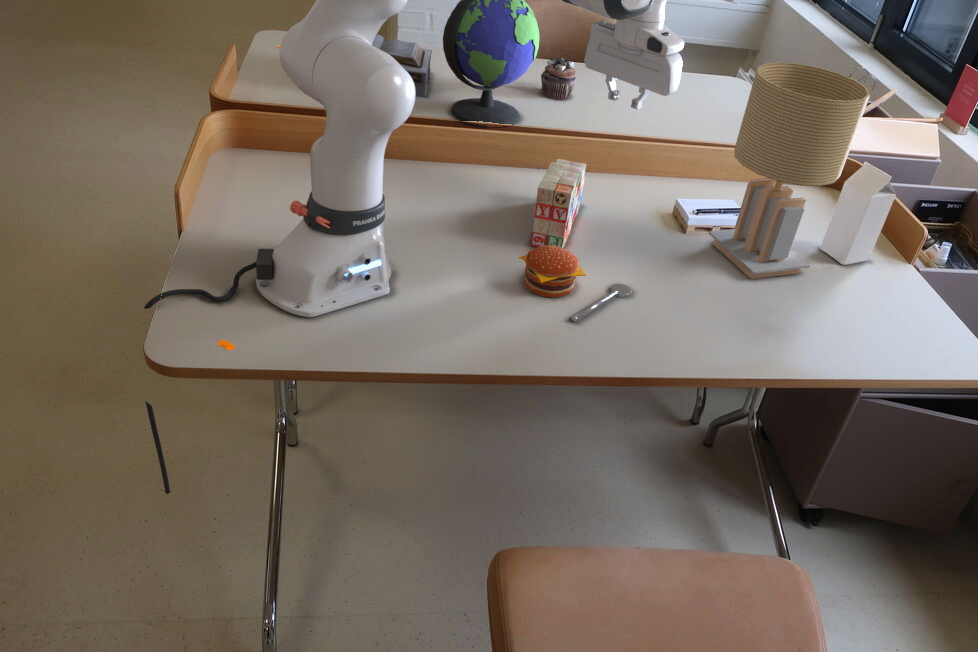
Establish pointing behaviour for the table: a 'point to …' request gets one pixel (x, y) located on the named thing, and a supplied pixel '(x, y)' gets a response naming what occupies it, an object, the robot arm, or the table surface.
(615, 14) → the robot arm
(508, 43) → the globe
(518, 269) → the table surface
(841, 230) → the milk carton
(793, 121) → the desk lamp
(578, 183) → the stack of blocks
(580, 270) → the hamburger
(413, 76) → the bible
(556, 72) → the cupcake
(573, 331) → the table surface
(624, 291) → the metal handle tool
